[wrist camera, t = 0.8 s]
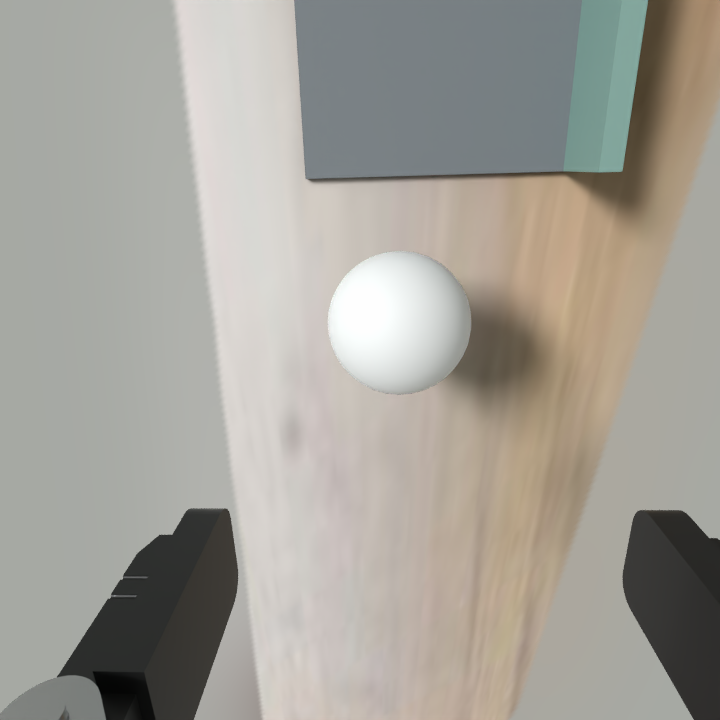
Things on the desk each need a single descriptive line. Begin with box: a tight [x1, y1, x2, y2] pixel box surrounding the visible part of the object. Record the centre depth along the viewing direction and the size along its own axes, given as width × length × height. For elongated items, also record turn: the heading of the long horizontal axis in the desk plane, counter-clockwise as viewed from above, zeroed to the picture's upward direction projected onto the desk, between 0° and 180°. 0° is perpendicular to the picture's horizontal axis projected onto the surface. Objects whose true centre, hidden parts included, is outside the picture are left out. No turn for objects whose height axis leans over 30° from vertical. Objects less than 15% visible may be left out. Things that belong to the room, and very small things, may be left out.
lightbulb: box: [328, 251, 471, 395], centre depth 24 cm, size 6×6×11 cm
